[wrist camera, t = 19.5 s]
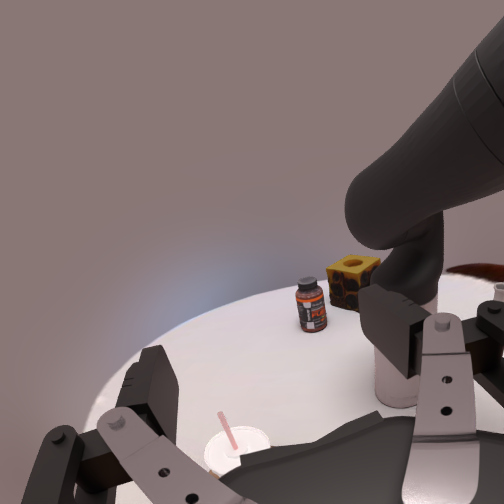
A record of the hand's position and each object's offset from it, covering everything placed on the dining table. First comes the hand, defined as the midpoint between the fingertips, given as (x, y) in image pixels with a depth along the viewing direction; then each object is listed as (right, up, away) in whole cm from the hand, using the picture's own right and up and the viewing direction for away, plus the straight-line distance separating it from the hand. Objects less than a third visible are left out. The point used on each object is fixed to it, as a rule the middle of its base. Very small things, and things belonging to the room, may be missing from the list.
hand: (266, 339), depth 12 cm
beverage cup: (0, -23, +14) cm, 27 cm away
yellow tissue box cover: (+25, -9, +62) cm, 68 cm away
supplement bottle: (+13, -13, +56) cm, 59 cm away
